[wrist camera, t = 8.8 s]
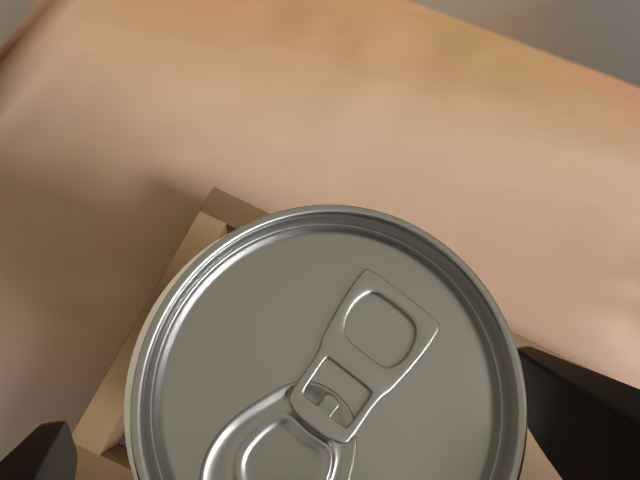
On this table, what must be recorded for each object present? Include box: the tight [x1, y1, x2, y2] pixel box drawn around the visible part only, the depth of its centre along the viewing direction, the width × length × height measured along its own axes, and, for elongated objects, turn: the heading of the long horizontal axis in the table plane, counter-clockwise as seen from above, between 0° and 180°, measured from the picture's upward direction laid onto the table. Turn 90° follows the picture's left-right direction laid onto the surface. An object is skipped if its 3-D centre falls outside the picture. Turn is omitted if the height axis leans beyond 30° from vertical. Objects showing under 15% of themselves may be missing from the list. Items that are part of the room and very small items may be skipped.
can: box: [124, 205, 528, 480], centre depth 13 cm, size 6×6×12 cm
